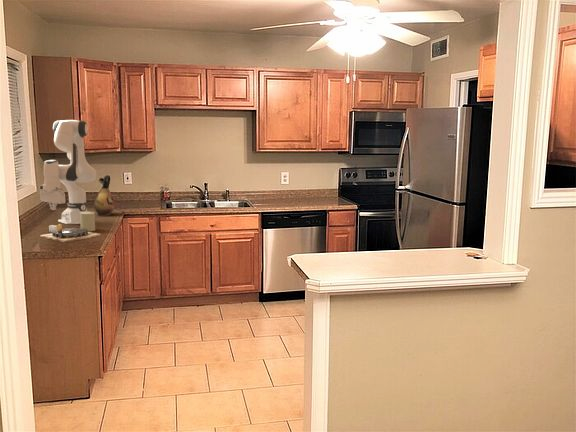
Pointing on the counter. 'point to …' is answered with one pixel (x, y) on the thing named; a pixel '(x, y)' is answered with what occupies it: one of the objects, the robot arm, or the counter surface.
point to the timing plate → (64, 239)
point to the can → (87, 220)
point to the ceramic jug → (104, 198)
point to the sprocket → (69, 232)
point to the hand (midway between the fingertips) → (53, 209)
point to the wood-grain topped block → (52, 228)
